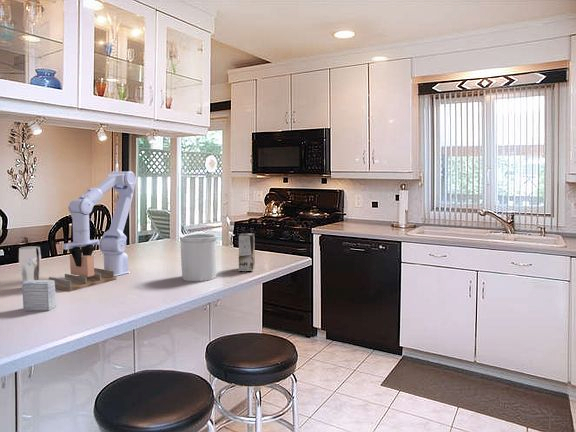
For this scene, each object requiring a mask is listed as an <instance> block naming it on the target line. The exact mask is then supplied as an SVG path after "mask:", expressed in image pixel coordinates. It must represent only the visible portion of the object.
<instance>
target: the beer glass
mask: <svg viewBox="0 0 576 432" xmlns="http://www.w3.org/2000/svg"><path fill="white" fill-rule="evenodd" d="M41 253H42V252H41V247H40V246H37V245H36V246H32V245H31V246H21V247H20V248H18V264H19V269H20V272H21V273H20V274H21V278H22V283H21V285H22V284H23V283H25V282H27V281H30V280H40V274H41V273H40V272H41V266H42V254H41Z"/></svg>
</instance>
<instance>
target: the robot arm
mask: <svg viewBox="0 0 576 432" xmlns="http://www.w3.org/2000/svg"><path fill="white" fill-rule="evenodd" d="M137 181H138V180H137V177H136V175H135V173H134V172H133V171H131V170H129V171H116V170H113V171H111V172H110V173H108V174H107V176H106V178H105V179H103V181H102V182H100V184H99V185H98V186H97V187H89V188H88V189H87V191H85V192H84V193H83V194H81V195H79V197H78V198H74V199H72V200H71V201H70V202H69V205H68V207H67V208H68V211H69V212H70V215H71V216H70V217H71V219H72V239H73V241H72V242H67V243H62V250H65V251H67V250H68V251H69V253H70V255H72V256H73V258H74V261H75V264H76V266H78V267H81V256H82V255H89V256H93V255H92V254H93V252H94V251H95V248H96V247H95V246H96V245H97V246H98V248H99V250H100V251H101V254H103V269H104V270H111V271H114V277H117V276H122V275H125V274H129V273H131V271H130V269H129V256H128V254H127V253H126V252H125V251H126V249H127V239H128V237H127V235H126V234H125V233H124V230H125V226H126V223H127V219H128V216H129V212H130V209H131V204H132V202H133V196H134V193H135V192H134V191H135V188H136V184H137ZM112 188H113V189H114V190H115V192H116V193H118V199H117V202H116V206H115V209H114V213H113V215H112V220H111V222H110V223H111V224H110V226H109V229H107V230H106V231H105V232H104V233H103V235H102V237H101V238H100V239H90V236H91V235H90V234H91V233H90V214H91V213H92V212H93V209H94V206H95V205H96V204H98V203H99V202H100V201H101V200H102V199H103V198H104V197H103V196H104V194H105V193H107V192H108V191H110V190H111V189H112Z"/></svg>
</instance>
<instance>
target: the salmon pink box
mask: <svg viewBox="0 0 576 432" xmlns="http://www.w3.org/2000/svg"><path fill="white" fill-rule="evenodd" d="M94 259H95V258H94V255H91V256H89V255H83V254H82V256H81V267H78V266H76V264H75V261H74V258H73V256H72V254H69V265H70V267H69V268H70V275H75V276H86V277H89V276H94V268H95V260H94Z"/></svg>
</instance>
